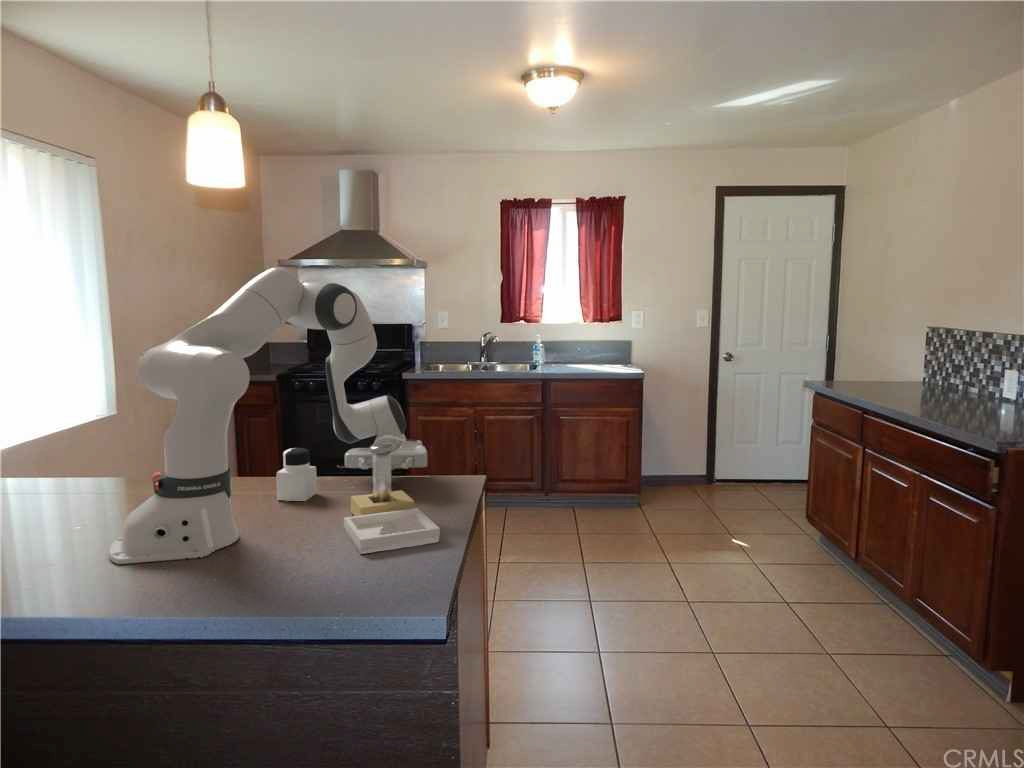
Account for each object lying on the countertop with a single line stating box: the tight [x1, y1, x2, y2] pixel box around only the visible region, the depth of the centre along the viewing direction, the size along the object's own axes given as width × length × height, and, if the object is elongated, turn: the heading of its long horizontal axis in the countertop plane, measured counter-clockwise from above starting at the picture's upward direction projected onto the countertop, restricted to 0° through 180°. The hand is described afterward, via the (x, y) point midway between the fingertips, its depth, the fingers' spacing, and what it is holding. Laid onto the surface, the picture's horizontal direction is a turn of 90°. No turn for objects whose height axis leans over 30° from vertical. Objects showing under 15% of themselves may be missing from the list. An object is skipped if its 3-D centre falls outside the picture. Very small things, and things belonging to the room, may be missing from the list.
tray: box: [343, 507, 441, 551], centre depth 134 cm, size 16×14×3 cm
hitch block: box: [350, 489, 415, 516], centre depth 146 cm, size 12×9×4 cm
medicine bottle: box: [276, 447, 318, 502], centre depth 158 cm, size 7×7×12 cm
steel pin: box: [369, 443, 394, 503], centre depth 146 cm, size 5×5×16 cm
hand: (384, 465), depth 156 cm, fingers open, 8 cm apart
